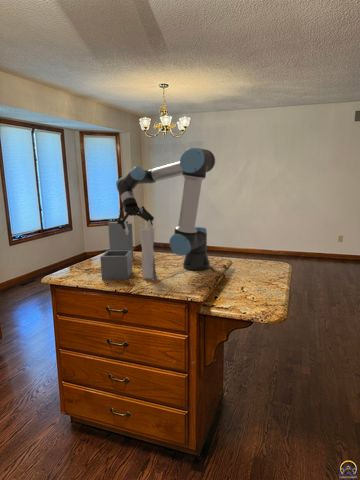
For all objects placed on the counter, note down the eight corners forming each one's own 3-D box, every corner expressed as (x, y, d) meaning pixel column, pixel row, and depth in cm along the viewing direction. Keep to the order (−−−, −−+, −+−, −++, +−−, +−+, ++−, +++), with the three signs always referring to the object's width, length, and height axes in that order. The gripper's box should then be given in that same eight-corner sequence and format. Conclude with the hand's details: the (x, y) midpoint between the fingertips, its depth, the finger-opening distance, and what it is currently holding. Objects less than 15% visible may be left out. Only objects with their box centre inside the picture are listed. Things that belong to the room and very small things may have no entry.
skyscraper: (139, 280, 161) (137, 225, 156) (141, 275, 169) (139, 223, 164) (156, 280, 161) (154, 225, 156) (157, 275, 169) (156, 223, 164)
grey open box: (132, 271, 176) (131, 250, 173) (128, 279, 163) (126, 256, 160) (108, 271, 176) (106, 250, 174) (101, 279, 163) (100, 256, 161)
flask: (135, 257, 208) (133, 218, 203) (131, 258, 204) (129, 219, 199) (113, 254, 215) (111, 217, 211) (109, 256, 211) (106, 218, 207)
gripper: (148, 204, 186) (159, 234, 176) (105, 207, 175) (115, 238, 165) (151, 196, 181) (163, 225, 171) (108, 198, 169) (118, 230, 159)
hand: (140, 232), depth 168 cm, fingers open, 13 cm apart
